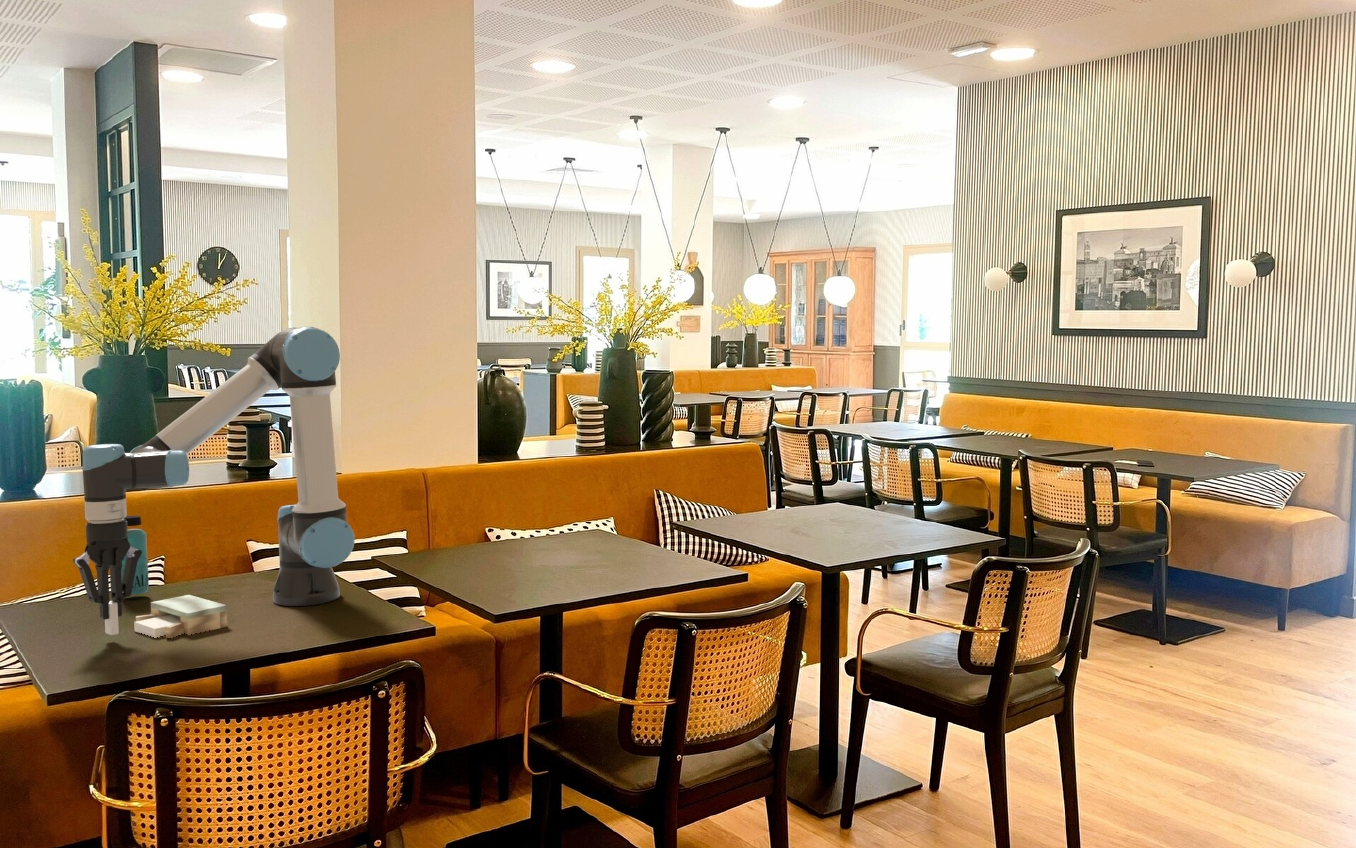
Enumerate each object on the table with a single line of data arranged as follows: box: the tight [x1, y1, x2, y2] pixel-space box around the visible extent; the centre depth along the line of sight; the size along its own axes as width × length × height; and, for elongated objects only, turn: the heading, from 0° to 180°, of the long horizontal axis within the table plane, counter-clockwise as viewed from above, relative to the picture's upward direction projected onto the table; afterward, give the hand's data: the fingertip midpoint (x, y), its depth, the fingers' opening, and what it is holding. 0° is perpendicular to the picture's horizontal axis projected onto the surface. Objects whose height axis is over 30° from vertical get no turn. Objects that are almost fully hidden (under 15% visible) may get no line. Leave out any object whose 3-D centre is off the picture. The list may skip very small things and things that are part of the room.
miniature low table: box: [135, 594, 228, 639], centre depth 230 cm, size 13×16×5 cm
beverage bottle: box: [121, 515, 150, 596], centre depth 256 cm, size 6×7×20 cm
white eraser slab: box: [133, 614, 181, 639], centre depth 229 cm, size 12×9×2 cm
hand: (112, 633), depth 219 cm, fingers closed
